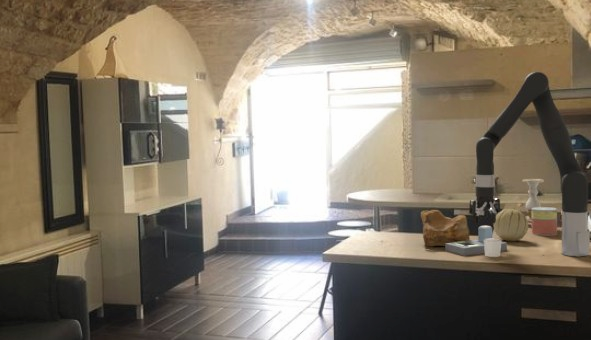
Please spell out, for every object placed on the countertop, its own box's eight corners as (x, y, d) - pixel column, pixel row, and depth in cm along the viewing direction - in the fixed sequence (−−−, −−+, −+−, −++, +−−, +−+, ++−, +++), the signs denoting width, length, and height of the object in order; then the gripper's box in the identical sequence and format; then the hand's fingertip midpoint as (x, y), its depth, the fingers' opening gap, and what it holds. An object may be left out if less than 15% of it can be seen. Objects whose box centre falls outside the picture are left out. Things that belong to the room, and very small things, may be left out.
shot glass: (497, 254, 242) (497, 237, 242) (504, 258, 235) (504, 240, 235) (481, 255, 242) (480, 238, 241) (487, 258, 235) (486, 241, 235)
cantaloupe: (490, 242, 266) (490, 209, 265) (496, 237, 279) (496, 205, 278) (526, 245, 259) (526, 210, 258) (530, 239, 272) (530, 206, 271)
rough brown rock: (406, 247, 266) (404, 214, 264) (427, 238, 277) (426, 207, 275) (451, 256, 249) (450, 221, 247) (472, 246, 260) (472, 213, 258)
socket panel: (506, 251, 248) (506, 242, 248) (463, 256, 239) (463, 247, 239) (486, 246, 259) (486, 237, 259) (445, 251, 250) (445, 242, 250)
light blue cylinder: (492, 249, 250) (492, 226, 249) (484, 250, 248) (484, 227, 248) (485, 247, 254) (485, 225, 253) (478, 248, 252) (478, 226, 251)
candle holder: (517, 225, 310) (516, 179, 308) (532, 223, 314) (532, 178, 313) (533, 228, 300) (533, 180, 298) (549, 226, 304) (549, 179, 303)
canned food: (561, 235, 279) (561, 209, 278) (536, 236, 279) (536, 210, 279) (551, 231, 290) (551, 206, 290) (527, 231, 291) (527, 207, 290)
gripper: (477, 187, 243) (477, 226, 244) (504, 185, 249) (504, 223, 250) (465, 185, 250) (465, 224, 251) (492, 183, 255) (491, 221, 257)
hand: (484, 223), depth 250 cm, fingers open, 8 cm apart
